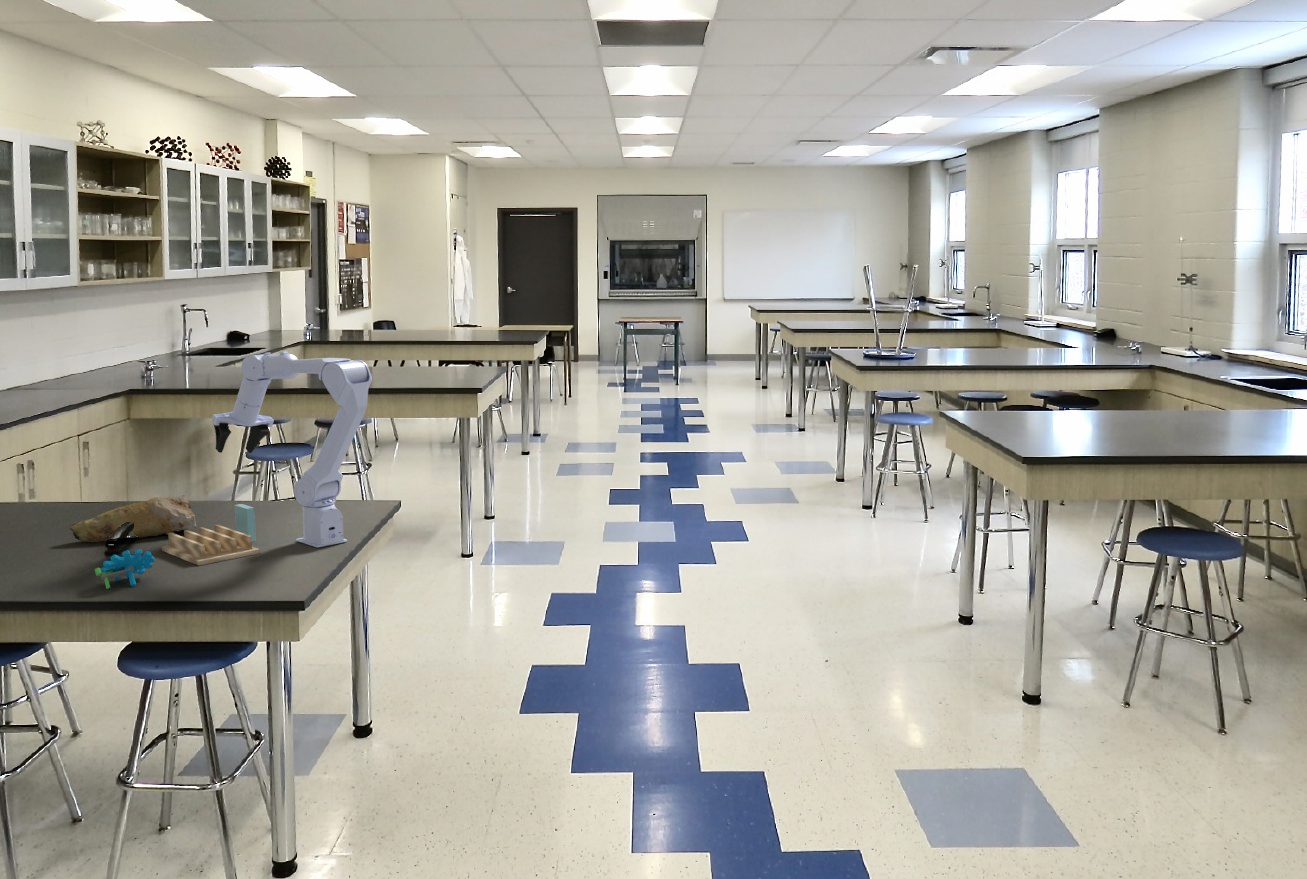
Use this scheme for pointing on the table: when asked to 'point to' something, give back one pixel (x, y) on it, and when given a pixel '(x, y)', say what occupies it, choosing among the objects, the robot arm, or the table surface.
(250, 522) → the teal rectangular block
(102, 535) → the mineral
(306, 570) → the table surface
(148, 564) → the toy stegosaurus
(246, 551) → the rack
